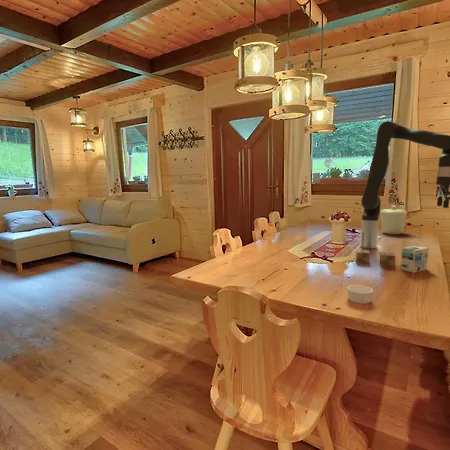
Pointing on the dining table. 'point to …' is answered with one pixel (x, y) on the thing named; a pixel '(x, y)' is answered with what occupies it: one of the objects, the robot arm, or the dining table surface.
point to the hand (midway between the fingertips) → (442, 206)
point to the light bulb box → (414, 258)
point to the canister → (393, 220)
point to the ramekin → (360, 294)
